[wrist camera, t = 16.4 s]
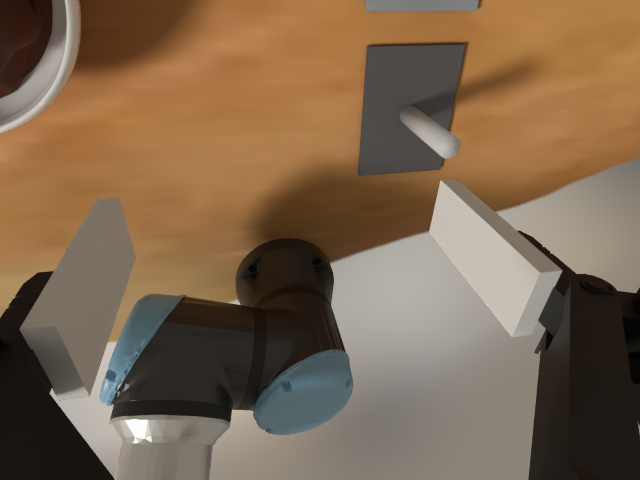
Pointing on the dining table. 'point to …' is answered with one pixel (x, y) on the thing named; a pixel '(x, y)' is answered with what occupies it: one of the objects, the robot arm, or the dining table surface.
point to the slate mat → (421, 5)
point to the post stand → (408, 107)
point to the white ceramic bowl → (35, 56)
